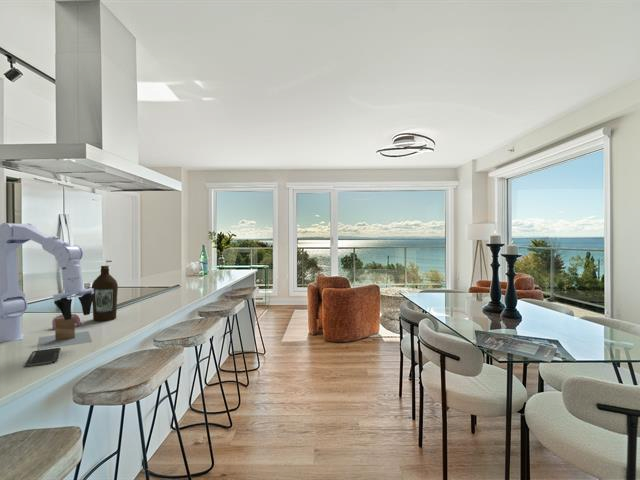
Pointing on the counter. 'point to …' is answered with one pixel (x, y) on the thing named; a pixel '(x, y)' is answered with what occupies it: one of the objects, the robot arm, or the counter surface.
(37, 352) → the phone
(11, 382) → the counter surface
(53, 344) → the rubber mat
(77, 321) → the video game controller
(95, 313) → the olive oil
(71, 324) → the walnut tile
